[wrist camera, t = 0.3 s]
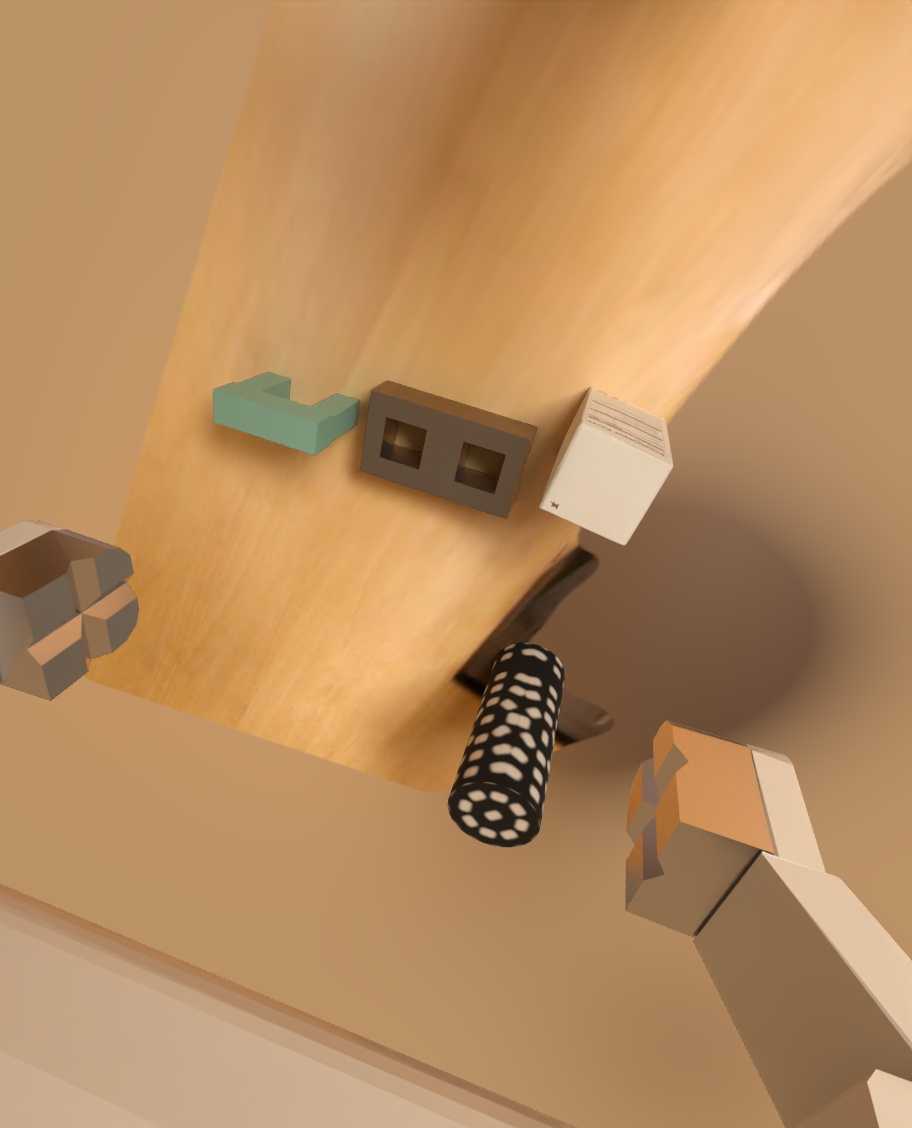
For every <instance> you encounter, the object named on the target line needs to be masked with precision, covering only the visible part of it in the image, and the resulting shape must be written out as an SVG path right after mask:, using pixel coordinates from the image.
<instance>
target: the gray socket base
mask: <svg viewBox="0 0 912 1128" xmlns="http://www.w3.org/2000/svg"><path fill="white" fill-rule="evenodd" d="M398 421H401V422H404V423H407V424H410V425H413V426H416V427H420V428H423V429H426V430H427V433H426V438H425V443H424V448H423V453H420V452H417V451H414V450H411V449H408V448H405V447H402V446H398V445H395V439H396V433H397V427H398ZM536 431H537V427H536V426H533V425H530V424H526V423H523V422H520V421H517V420H513V419H510V418H507V417H504V416H501V415H497V414H494V413H491V412H488V411H484V410H481V409H478V408H475V407H471V406H468V405H465V404H462V403H459V402H455V401H452V400H449V399H446V398H442V397H439V396H436V395H433V394H430V393H426V392H423V391H420V390H417V389H413V388H410V387H407V386H404V385H401V384H397V383H394V382H391V381H386V382H384V383H382V384H381V385H379V386H377V387H376V388H374V389H372V390H371V397H370V404H369V411H368V418H367V425H366V432H365V439H364V446H363V453H362V460H361V467H360V471H363V472H366V473H369V474H372V475H375V476H378V477H381V478H384V479H387V480H390V481H393V482H396V483H399V484H403V485H406V486H409V487H412V488H415V489H418V490H421V491H424V492H427V493H430V494H433V495H436V496H439V497H442V498H445V499H448V500H451V501H454V502H457V503H460V504H463V505H466V506H469V507H472V508H475V509H478V510H481V511H484V512H487V513H490V514H493V515H496V516H499V517H502V518H505V519H507V517H508V515H509V513H510V511H511V508H512V506H513V504H514V502H515V498H516V495H517V492H518V489H519V485H520V482H521V479H522V476H523V473H524V469H525V466H526V463H527V460H528V456H529V453H530V450H531V447H532V444H533V440H534V437H535V434H536ZM470 444H473V445H476V446H479V447H483V448H486V449H489V450H492V451H495V452H498V453H501V454H505V455H506V456H505V459H504V463H503V466H502V470H501V473H500V477H499V478H498V477H494V476H491V475H488V474H485V473H482V472H479V471H476V470H473V469H470V468H467V467H465V463H466V459H467V455H468V451H469V447H470Z"/></svg>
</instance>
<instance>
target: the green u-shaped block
mask: <svg viewBox="0 0 912 1128" xmlns="http://www.w3.org/2000/svg"><path fill="white" fill-rule="evenodd" d="M290 383H291V379H290V378H286V377H283V376H280V375H277V374H274V373H271V372H266V373H263V374H261V375H258V376H255V377H253V378H250V379H247V380H245V381H242V382H239V383H235V382H232V383H229V384H226V385H224V386H221V387H218V388H215V389H213V422H215V423H218V424H221V425H224V426H227V427H230V428H233V429H236V430H239V431H242V432H245V433H248V434H251V435H254V436H257V437H260V438H263V439H266V440H269V441H272V442H275V443H278V444H282V445H285V446H288V447H291V448H294V449H297V450H300V451H303V452H306V453H309V454H312V455H316V454H318V453H319V452H321V451H322V450H323V449H325V448H326V447H328V446H329V445H330V442H332V441H333V440H335V439H336V438H338V437H339V436H341V435H342V434H344V433H345V432H347V431H348V430H350V429H351V428H353V427H354V426H355V425H357V418H358V411H359V403H360V401H359V400H356V399H353V398H350V397H347V396H343V395H340V394H337V393H336V394H334V395H333V396H331V397H329V398H327V399H325V400H323V401H321V402H319V403H317V404H315V405H314V406H312V407H310V406H306V405H303V404H300V403H297V402H294V401H291V400H289V398H290Z"/></svg>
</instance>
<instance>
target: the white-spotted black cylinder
mask: <svg viewBox="0 0 912 1128" xmlns="http://www.w3.org/2000/svg"><path fill="white" fill-rule="evenodd" d="M564 679H565V673H564V668H563V666H562V664H561V662H560V661H559V659H558V658H557V657H556V656H555V655H554V654H553V653H552V652H550V651H549V650H547V649H546V648H544V647H541V646H538V645H535V644H531V643H518V644H513V645H510V646H508V647H506V648H504V649H503V650H502V651H501V652H500V653H499V654H498V655H497V657H496V659H495V662H494V665H493V668H492V671H491V674H490V677H489V680H488V683H487V686H486V689H485V692H484V695H483V698H482V701H481V704H480V707H479V710H478V713H477V716H476V719H475V722H474V725H473V728H472V731H471V734H470V737H469V740H468V743H467V746H466V749H465V752H464V755H463V758H462V761H461V764H460V767H459V769H458V772H457V775H456V778H455V781H454V784H453V787H452V790H451V793H450V796H449V799H448V810H449V813H450V815H451V818H452V819H453V821H454V822H455V823H456V825H457V826H458V827H459V828H460V829H461V830H462V831H464V832H465V833H466V834H468V835H469V836H471V837H473V838H474V839H476V840H479V841H481V842H483V843H486V844H490V845H493V846H499V847H516V846H521V845H524V844H526V843H528V842H530V841H532V840H533V839H534V838H535V837H536V836H537V834H538V832H539V829H540V825H541V819H542V813H543V806H544V801H545V794H546V788H547V782H548V776H549V770H550V763H551V757H552V752H553V746H554V740H555V734H556V727H557V721H558V715H559V709H560V703H561V697H562V691H563V685H564Z"/></svg>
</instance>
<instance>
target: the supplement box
mask: <svg viewBox="0 0 912 1128" xmlns="http://www.w3.org/2000/svg"><path fill="white" fill-rule="evenodd" d="M672 468H673V462H672V456H671V449H670V444H669V437H668V431H667V426H666V420H665V419H664V418H662V417H659V416H657V415H655V414H652V413H650V412H648V411H645V410H643V409H641V408H639V407H636V406H634V405H632V404H629V403H627V402H625V401H622V400H620V399H618V398H616V397H613V396H611V395H609V394H607V393H604V392H602V391H600V390H597V389H595V388H593V387H590V388H589V390H588V392H587V394H586V395H585V397H584V399H583V401H582V403H581V405H580V407H579V409H578V411H577V413H576V415H575V417H574V419H573V421H572V423H571V425H570V427H569V430H568V432H567V434H566V436H565V438H564V440H563V443H562V445H561V447H560V450H559V452H558V454H557V457H556V460H555V463H554V466H553V469H552V471H551V474H550V477H549V480H548V483H547V486H546V488H545V491H544V494H543V497H542V500H541V503H540V505H539V508H540V509H542V510H544V511H547V512H549V513H551V514H554V515H556V516H558V517H561V518H563V519H565V520H568V521H570V522H572V523H574V524H576V525H579V526H581V527H583V528H585V529H588V530H590V531H592V532H594V533H597V534H599V535H601V536H603V537H605V538H608V539H610V540H612V541H614V542H617V543H619V544H622V545H626V543H627V542H628V540H629V539H630V537H631V536H632V534H633V532H634V531H635V529H636V528H637V526H638V524H639V523H640V521H641V519H642V518H643V516H644V514H645V513H646V511H647V510H648V508H649V506H650V505H651V503H652V501H653V500H654V498H655V496H656V495H657V493H658V491H659V490H660V488H661V486H662V485H663V483H664V481H665V480H666V478H667V476H668V475H669V473H670V471H671V469H672Z"/></svg>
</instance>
